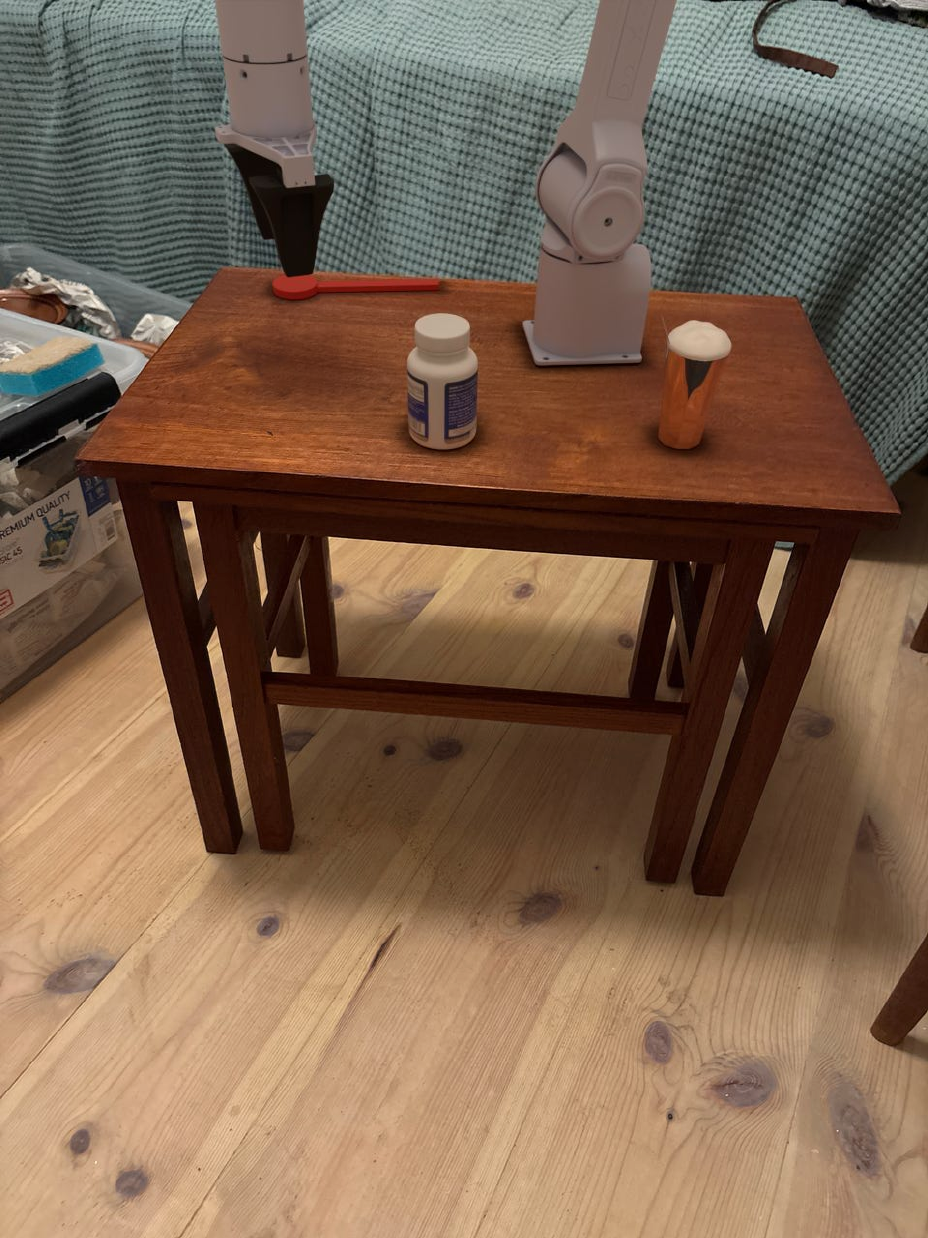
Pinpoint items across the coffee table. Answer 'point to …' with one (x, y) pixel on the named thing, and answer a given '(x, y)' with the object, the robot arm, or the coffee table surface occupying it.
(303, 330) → the coffee table surface
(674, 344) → the milkshake
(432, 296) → the coffee table surface
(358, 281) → the red spoon
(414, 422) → the pill bottle
